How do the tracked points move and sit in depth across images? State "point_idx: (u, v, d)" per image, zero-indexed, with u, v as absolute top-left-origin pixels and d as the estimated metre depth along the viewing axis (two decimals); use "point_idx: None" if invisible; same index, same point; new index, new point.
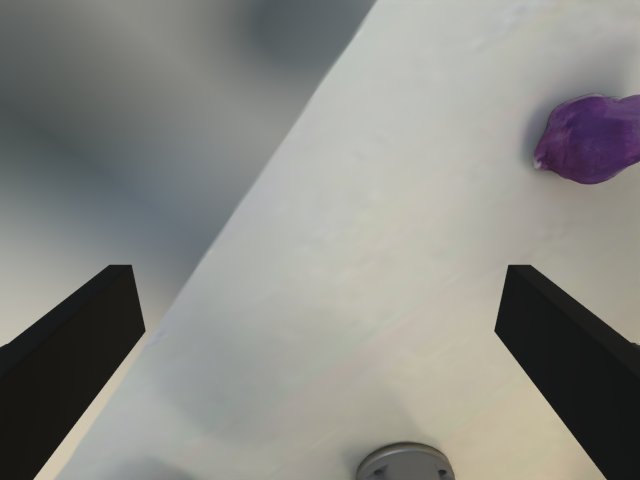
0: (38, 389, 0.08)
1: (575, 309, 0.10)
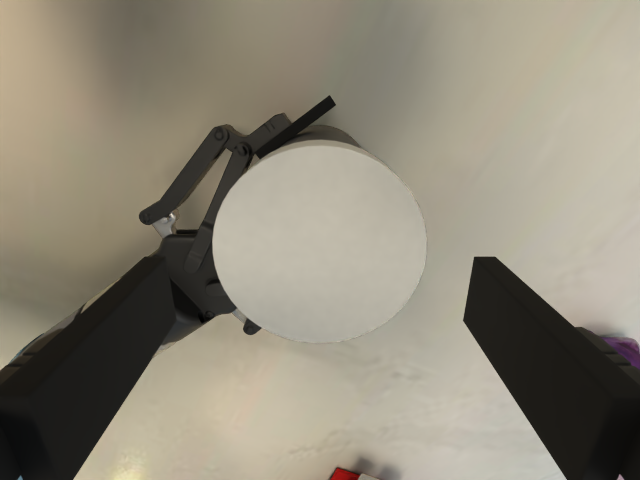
0: (95, 368, 0.09)
1: (528, 296, 0.10)
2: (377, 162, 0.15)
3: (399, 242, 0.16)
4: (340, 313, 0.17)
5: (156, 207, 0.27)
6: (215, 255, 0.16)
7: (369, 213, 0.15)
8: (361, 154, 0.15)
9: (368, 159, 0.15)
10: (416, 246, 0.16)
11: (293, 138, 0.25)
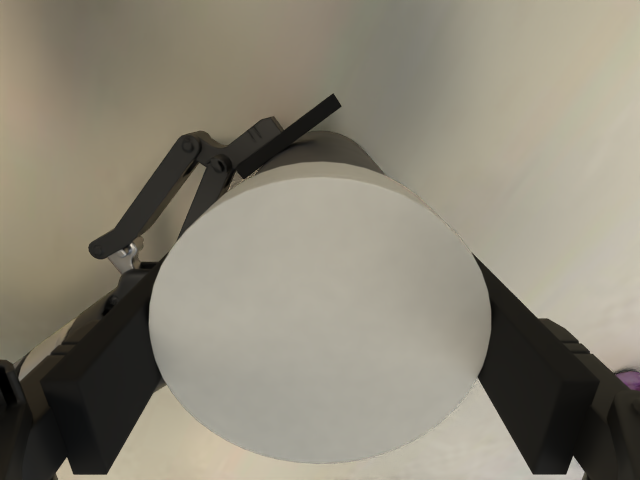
0: (131, 357, 0.09)
1: (497, 289, 0.11)
2: (417, 204, 0.09)
3: (447, 326, 0.10)
4: (351, 425, 0.11)
5: (110, 237, 0.21)
6: (155, 345, 0.10)
7: (401, 284, 0.09)
8: (390, 192, 0.09)
9: (402, 199, 0.09)
10: (474, 332, 0.10)
11: (285, 150, 0.19)
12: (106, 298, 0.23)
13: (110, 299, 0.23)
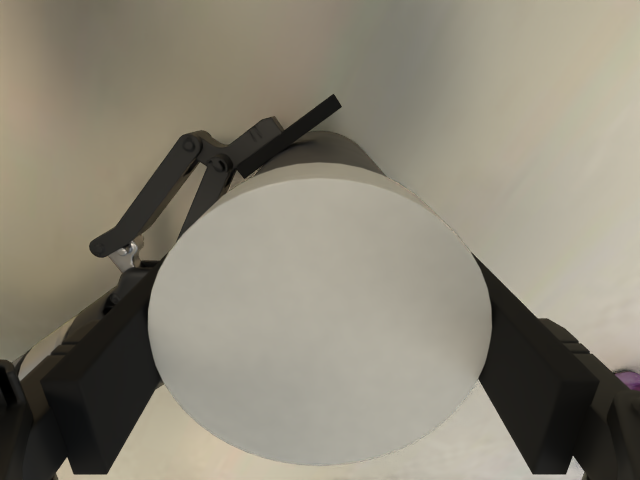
0: (131, 357, 0.09)
1: (497, 289, 0.11)
2: (149, 332, 0.10)
3: (240, 250, 0.09)
4: (411, 279, 0.09)
5: (111, 236, 0.21)
6: (378, 454, 0.12)
7: (221, 312, 0.10)
8: (153, 354, 0.10)
9: (153, 344, 0.10)
10: (232, 220, 0.09)
11: (285, 150, 0.19)
12: (106, 296, 0.23)
13: (110, 298, 0.23)
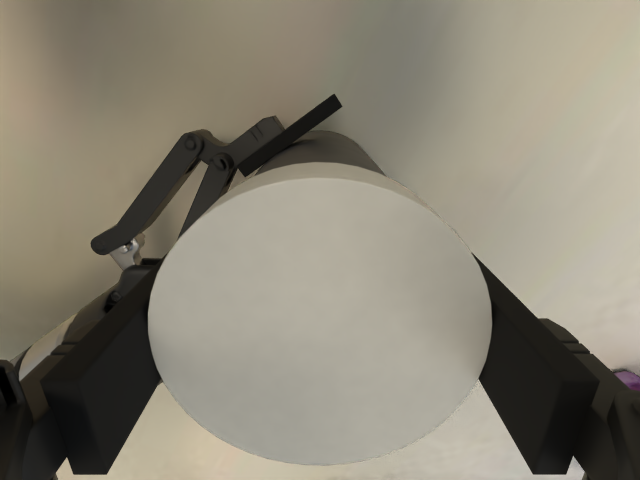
0: (131, 357, 0.09)
1: (497, 289, 0.11)
2: (364, 459, 0.12)
3: (259, 426, 0.11)
4: (211, 307, 0.10)
5: (112, 233, 0.21)
6: (447, 231, 0.09)
7: (320, 423, 0.11)
8: (385, 453, 0.12)
9: (375, 455, 0.12)
10: (239, 436, 0.11)
11: (286, 149, 0.19)
12: (107, 294, 0.23)
13: (111, 295, 0.23)
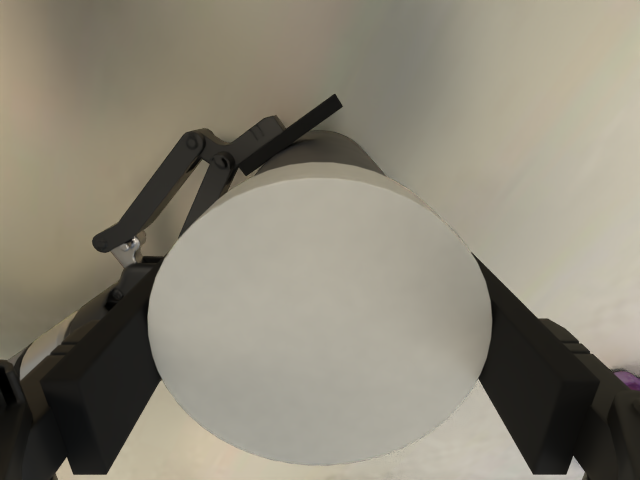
0: (131, 357, 0.09)
1: (497, 289, 0.11)
2: (461, 242, 0.09)
3: (443, 361, 0.10)
4: (319, 430, 0.11)
5: (113, 231, 0.21)
6: (153, 301, 0.10)
7: (418, 310, 0.10)
8: (442, 223, 0.09)
9: (450, 233, 0.09)
10: (464, 373, 0.11)
11: (287, 148, 0.19)
12: (108, 291, 0.23)
13: (112, 292, 0.23)
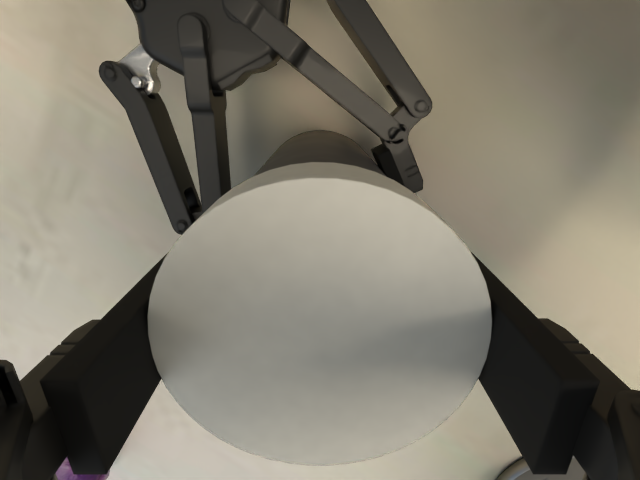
0: (131, 357, 0.09)
1: (497, 289, 0.11)
2: (461, 243, 0.09)
3: (443, 362, 0.10)
4: (318, 430, 0.11)
5: None
6: (153, 300, 0.10)
7: (418, 311, 0.10)
8: (443, 224, 0.09)
9: (450, 234, 0.09)
10: (464, 374, 0.11)
11: None
12: None
13: None
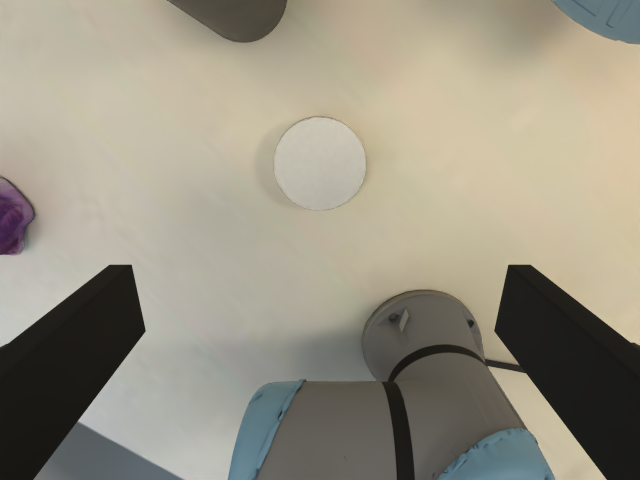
0: (38, 389, 0.08)
1: (575, 309, 0.10)
2: (355, 134, 0.36)
3: (353, 171, 0.38)
4: (319, 196, 0.39)
5: None
6: (276, 151, 0.37)
7: (345, 154, 0.37)
8: (349, 129, 0.36)
9: (351, 132, 0.36)
10: (360, 175, 0.38)
11: None
12: None
13: None
